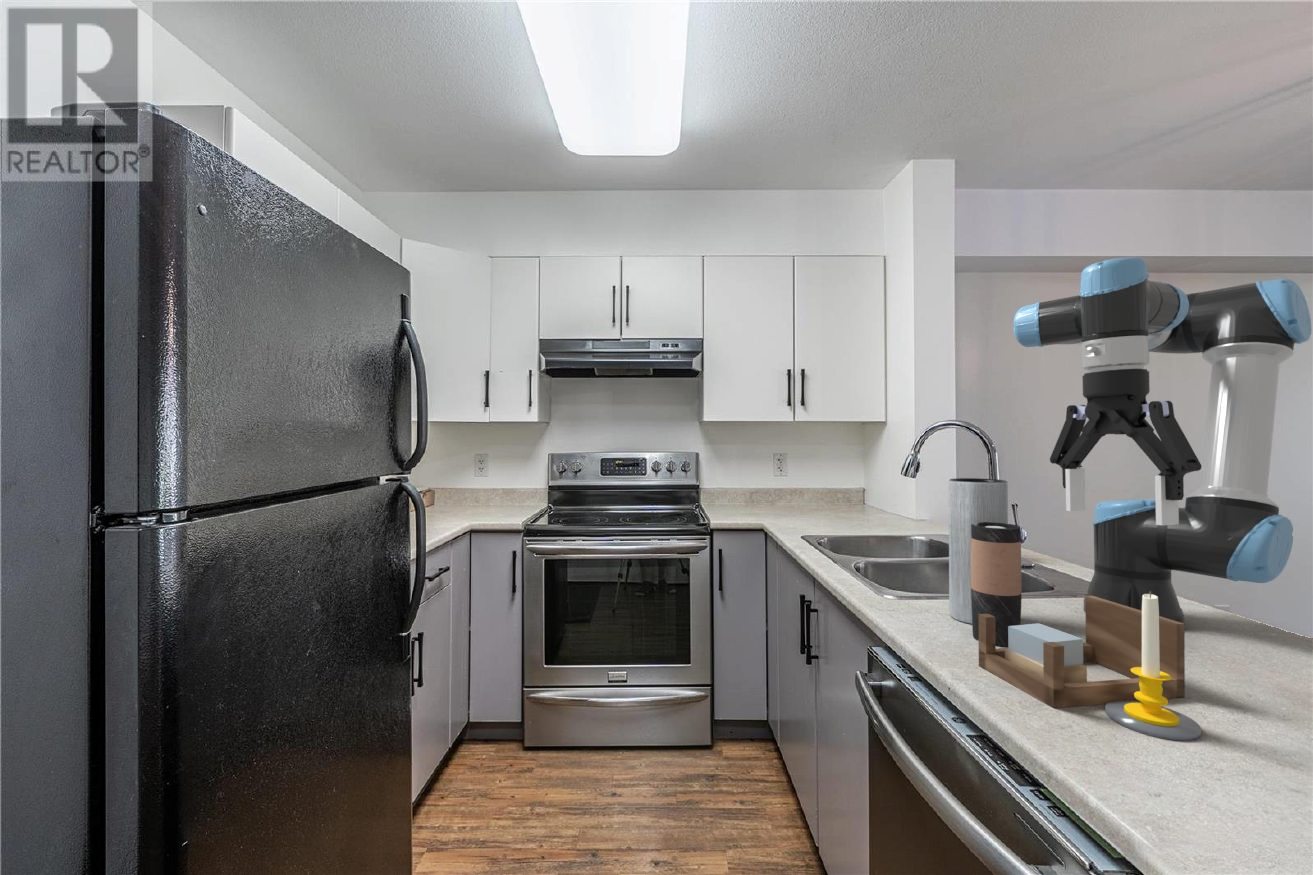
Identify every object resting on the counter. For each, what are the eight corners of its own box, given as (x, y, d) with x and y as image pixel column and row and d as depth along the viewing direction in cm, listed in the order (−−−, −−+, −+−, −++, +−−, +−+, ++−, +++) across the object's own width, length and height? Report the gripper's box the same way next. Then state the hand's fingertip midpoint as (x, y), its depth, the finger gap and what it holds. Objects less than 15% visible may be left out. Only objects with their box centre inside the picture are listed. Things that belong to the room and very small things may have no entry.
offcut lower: (1041, 672, 87) (1041, 645, 87) (1086, 695, 79) (1086, 666, 79) (1004, 674, 86) (1004, 647, 86) (1047, 698, 78) (1047, 668, 78)
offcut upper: (1038, 646, 87) (1038, 623, 87) (1083, 664, 80) (1083, 639, 80) (1008, 649, 86) (1008, 626, 86) (1050, 668, 79) (1050, 642, 79)
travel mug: (1029, 649, 96) (1029, 529, 96) (979, 645, 97) (979, 528, 97) (1011, 633, 103) (1010, 522, 103) (965, 630, 105) (964, 521, 105)
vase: (1020, 622, 109) (1019, 480, 109) (983, 629, 105) (982, 482, 105) (973, 608, 118) (972, 477, 118) (937, 614, 115) (937, 479, 115)
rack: (1092, 658, 92) (1092, 595, 92) (1184, 697, 78) (1184, 623, 78) (978, 665, 89) (978, 601, 89) (1053, 707, 75) (1053, 631, 75)
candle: (1178, 731, 68) (1177, 599, 68) (1121, 717, 71) (1121, 591, 71) (1179, 715, 72) (1178, 590, 72) (1125, 702, 75) (1125, 583, 75)
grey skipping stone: (1146, 702, 76) (1146, 697, 76) (1222, 737, 68) (1222, 732, 68) (1087, 707, 75) (1087, 702, 75) (1156, 743, 66) (1156, 738, 66)
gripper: (1022, 378, 94) (1025, 507, 95) (1187, 359, 70) (1190, 533, 70) (1061, 377, 95) (1064, 504, 96) (1237, 358, 71) (1240, 529, 71)
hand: (1117, 517), depth 83 cm, fingers open, 13 cm apart
